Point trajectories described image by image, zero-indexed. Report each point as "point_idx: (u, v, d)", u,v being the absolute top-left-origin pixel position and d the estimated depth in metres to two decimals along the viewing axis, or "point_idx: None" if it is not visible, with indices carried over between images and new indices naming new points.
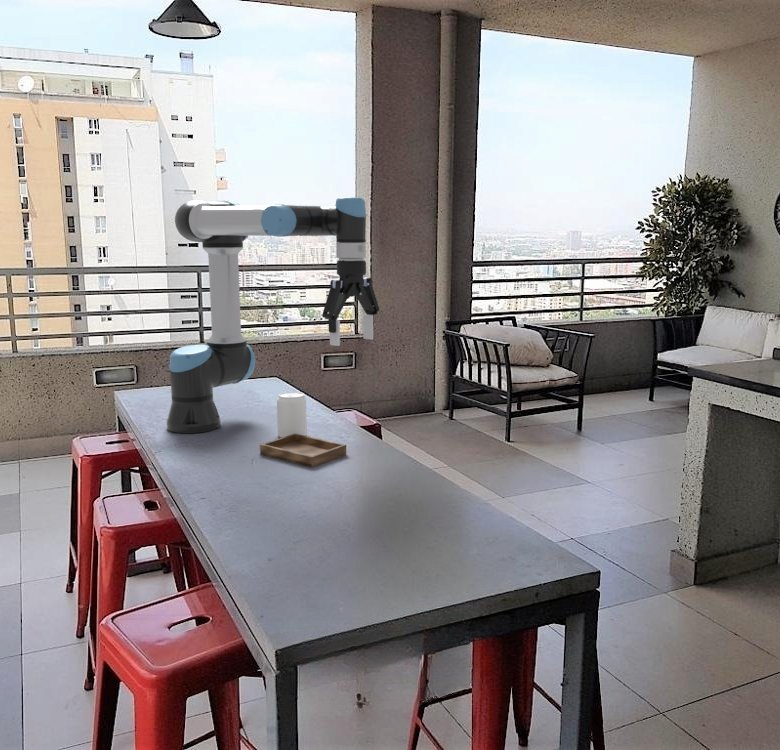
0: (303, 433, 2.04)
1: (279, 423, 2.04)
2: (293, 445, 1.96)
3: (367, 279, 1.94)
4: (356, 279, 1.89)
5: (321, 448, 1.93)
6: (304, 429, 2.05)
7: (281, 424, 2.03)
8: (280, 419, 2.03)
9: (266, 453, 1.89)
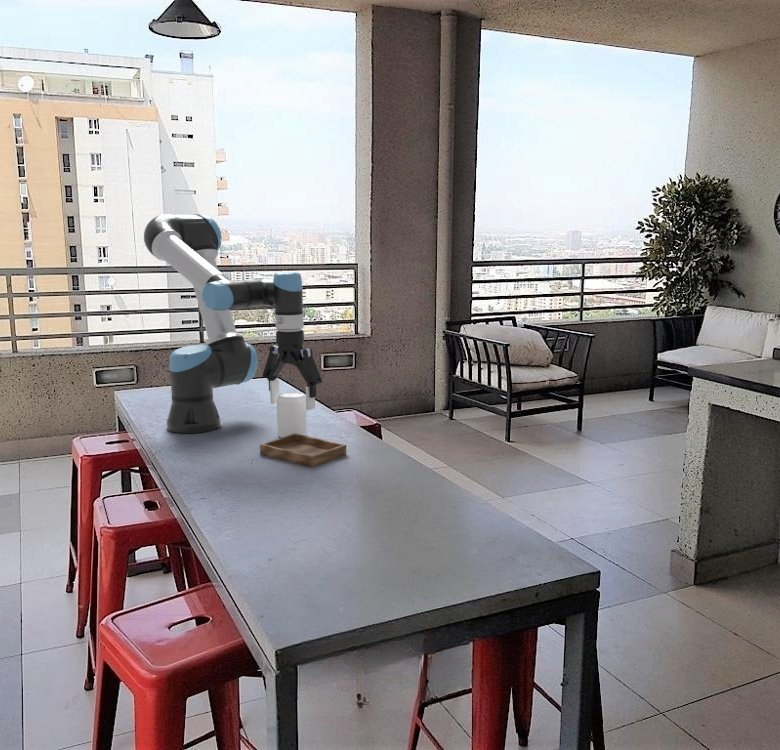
0: (303, 433, 2.04)
1: (279, 423, 2.04)
2: (293, 445, 1.96)
3: None
4: (289, 348, 2.01)
5: (321, 448, 1.93)
6: (304, 429, 2.05)
7: (281, 424, 2.03)
8: (280, 419, 2.03)
9: (266, 453, 1.89)
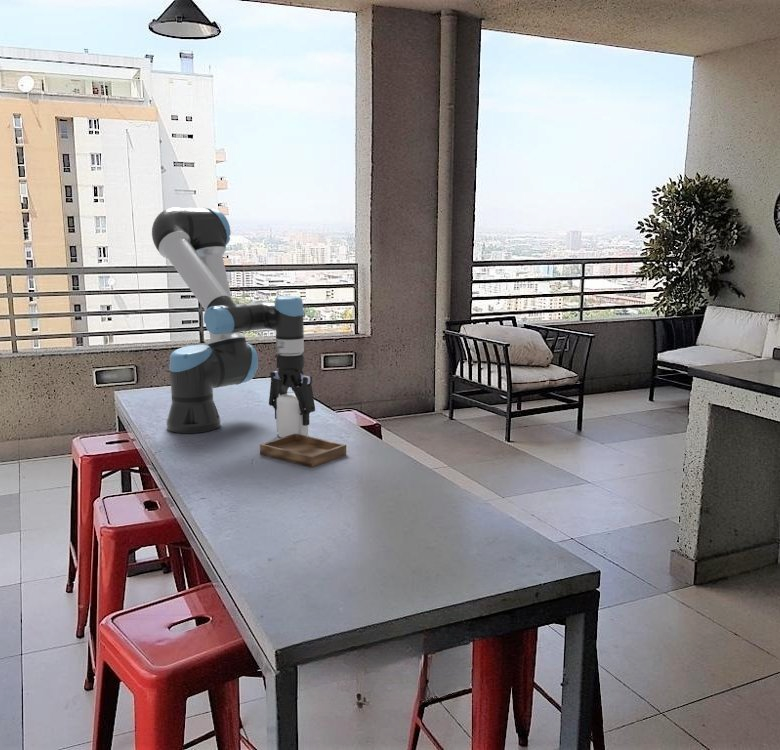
0: None
1: (279, 423, 2.04)
2: (293, 445, 1.96)
3: None
4: (290, 370, 2.02)
5: (321, 448, 1.93)
6: None
7: (281, 424, 2.03)
8: (280, 419, 2.03)
9: (266, 453, 1.89)
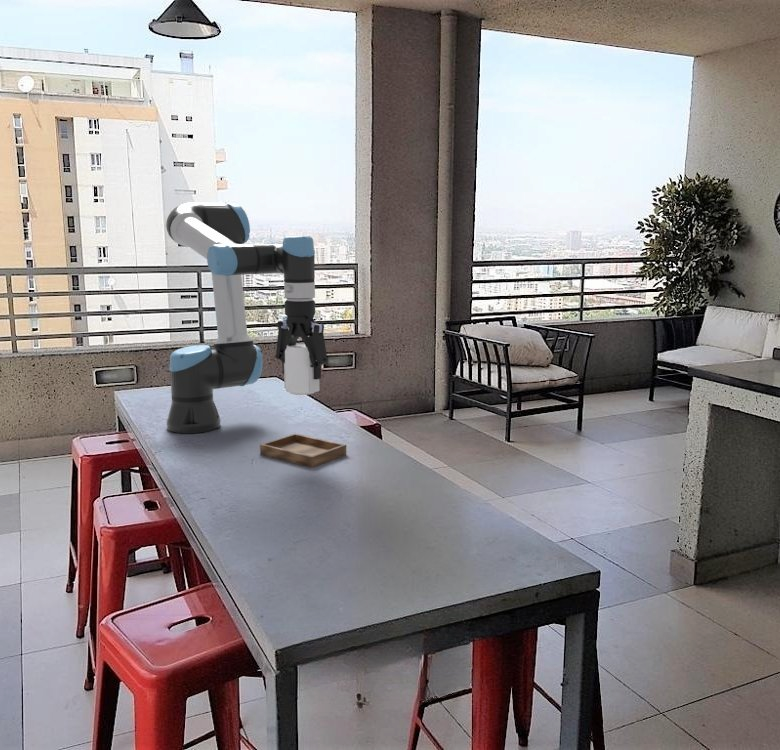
0: None
1: (287, 377, 1.84)
2: (293, 445, 1.96)
3: None
4: (299, 317, 1.82)
5: (321, 448, 1.93)
6: None
7: (289, 378, 1.83)
8: (289, 372, 1.83)
9: (266, 453, 1.89)
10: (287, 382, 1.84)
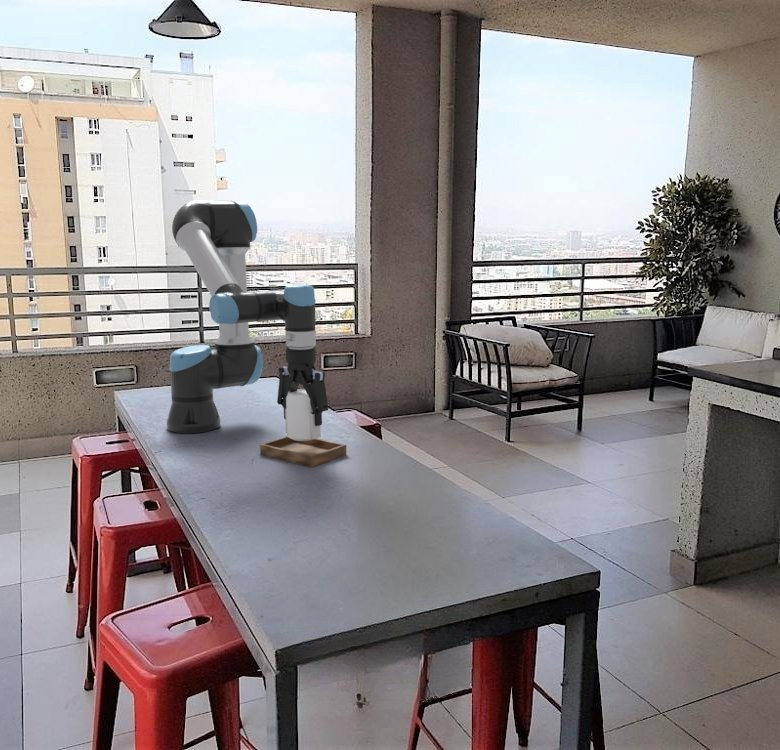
0: None
1: (289, 423, 1.86)
2: (293, 445, 1.96)
3: None
4: (301, 365, 1.84)
5: (321, 448, 1.93)
6: None
7: (290, 424, 1.86)
8: (290, 419, 1.85)
9: (266, 453, 1.89)
10: (288, 428, 1.87)
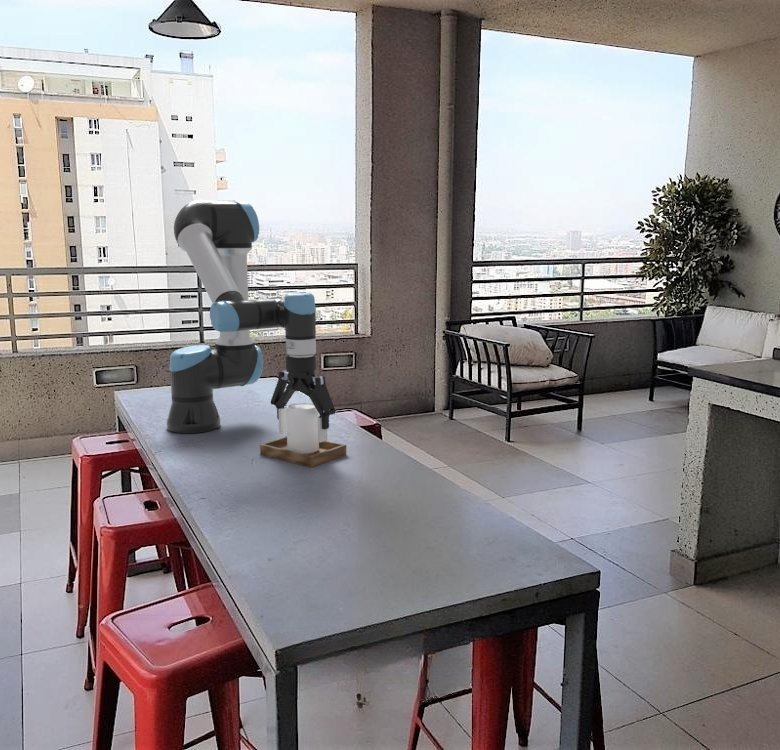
0: (315, 448, 1.88)
1: (289, 437, 1.87)
2: None
3: None
4: (300, 375, 1.85)
5: (321, 448, 1.93)
6: (316, 443, 1.88)
7: (291, 438, 1.86)
8: (290, 433, 1.86)
9: (266, 453, 1.89)
10: (288, 442, 1.87)
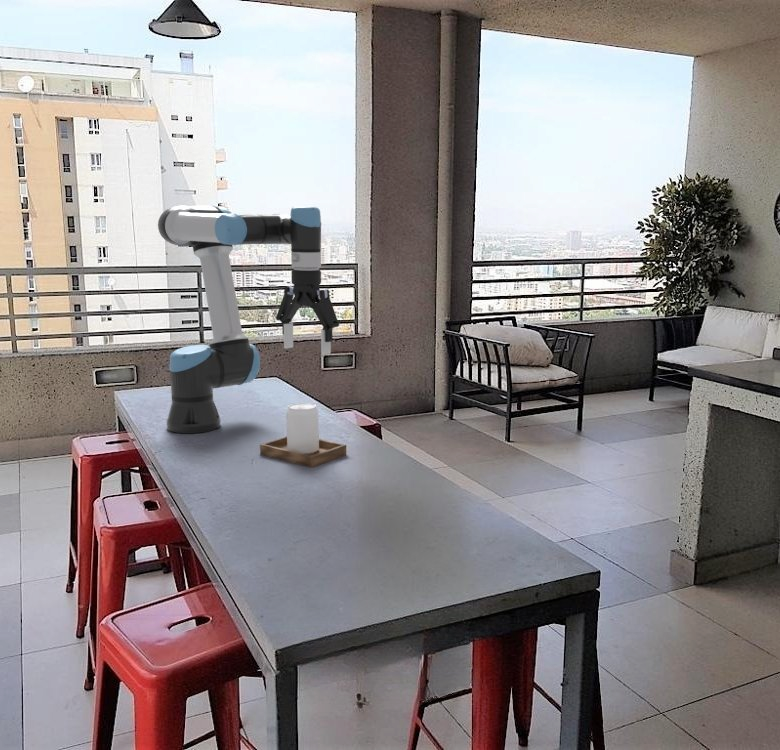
0: (315, 448, 1.88)
1: (289, 437, 1.87)
2: None
3: None
4: (305, 289, 1.88)
5: (321, 448, 1.93)
6: (316, 444, 1.88)
7: (291, 438, 1.86)
8: (290, 433, 1.86)
9: (266, 453, 1.89)
10: (288, 442, 1.87)
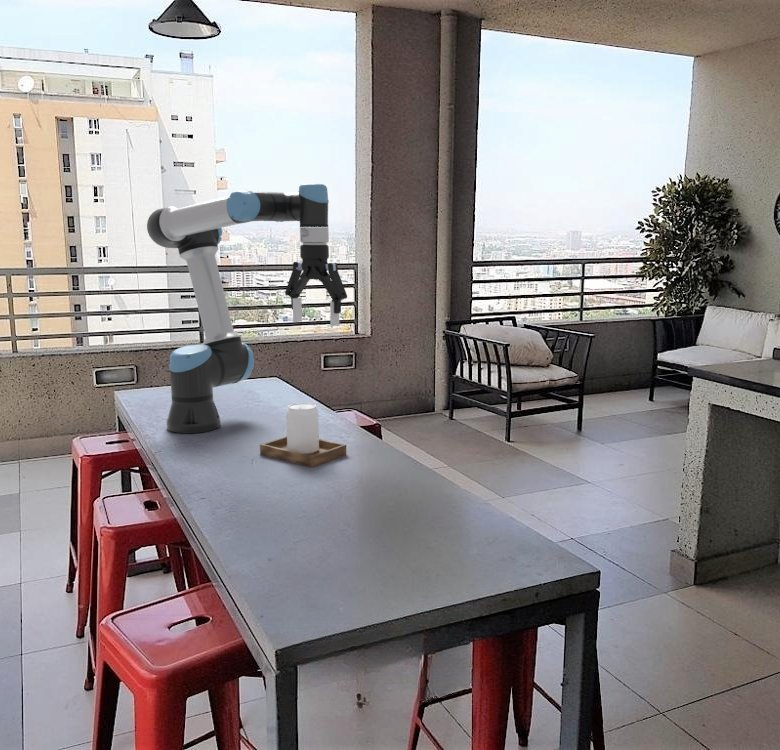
0: (315, 448, 1.88)
1: (289, 437, 1.87)
2: None
3: None
4: (313, 263, 1.96)
5: (321, 448, 1.93)
6: (316, 444, 1.88)
7: (291, 439, 1.86)
8: (290, 433, 1.86)
9: (266, 453, 1.89)
10: (288, 442, 1.87)
